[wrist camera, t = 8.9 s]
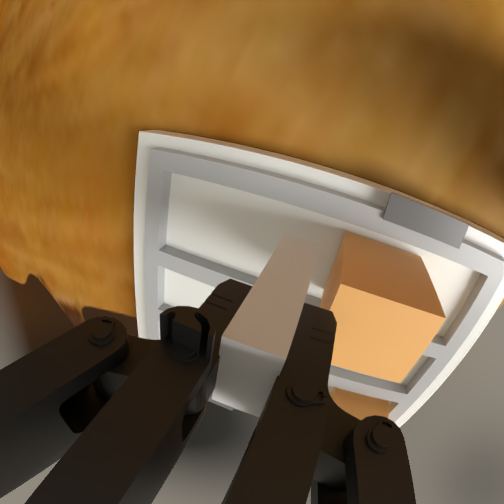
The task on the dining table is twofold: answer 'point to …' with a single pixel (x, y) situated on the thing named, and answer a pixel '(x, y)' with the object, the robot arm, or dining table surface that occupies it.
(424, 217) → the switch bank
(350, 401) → the tab
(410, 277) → the orange block
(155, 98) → the dining table surface
